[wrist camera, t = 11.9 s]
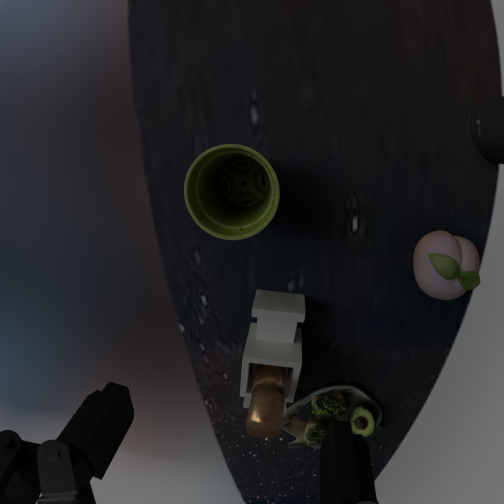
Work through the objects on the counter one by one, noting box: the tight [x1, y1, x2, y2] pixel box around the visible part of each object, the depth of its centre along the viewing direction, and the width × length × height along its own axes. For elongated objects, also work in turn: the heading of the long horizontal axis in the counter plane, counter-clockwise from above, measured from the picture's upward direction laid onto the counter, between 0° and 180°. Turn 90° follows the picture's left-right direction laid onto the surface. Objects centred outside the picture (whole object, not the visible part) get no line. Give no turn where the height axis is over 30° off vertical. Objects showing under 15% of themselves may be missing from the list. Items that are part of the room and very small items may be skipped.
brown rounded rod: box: [246, 364, 286, 438], centre depth 35 cm, size 4×4×12 cm
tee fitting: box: [240, 289, 305, 412], centre depth 41 cm, size 7×18×8 cm, turn 175°
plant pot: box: [184, 144, 280, 240], centre depth 33 cm, size 9×9×9 cm
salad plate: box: [283, 382, 383, 448], centre depth 47 cm, size 19×18×5 cm
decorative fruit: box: [413, 231, 480, 300], centre depth 33 cm, size 9×8×10 cm
